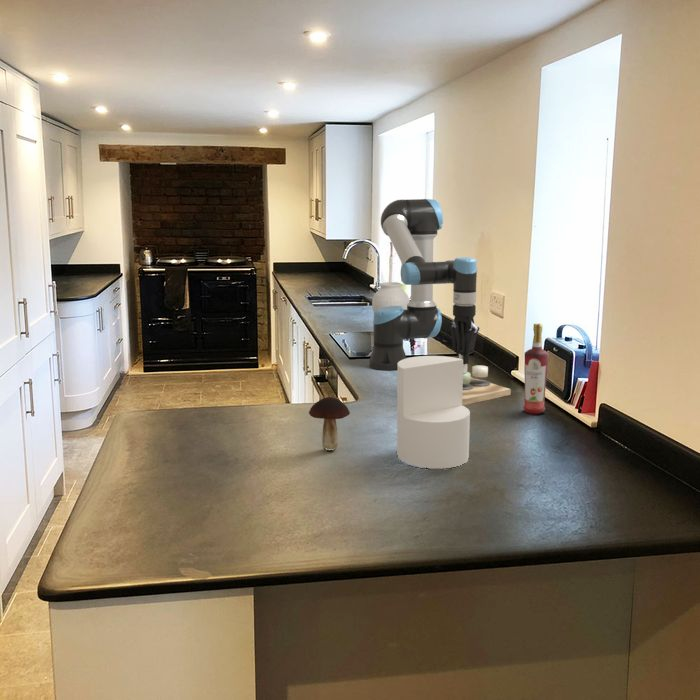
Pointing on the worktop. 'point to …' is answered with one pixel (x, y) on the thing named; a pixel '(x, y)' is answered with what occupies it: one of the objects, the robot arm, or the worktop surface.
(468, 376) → the sage button
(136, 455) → the worktop surface
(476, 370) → the cream button
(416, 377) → the cylinder
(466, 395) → the button board
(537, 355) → the liquor
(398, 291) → the vase
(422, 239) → the robot arm
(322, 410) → the decorative mushroom
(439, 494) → the worktop surface
